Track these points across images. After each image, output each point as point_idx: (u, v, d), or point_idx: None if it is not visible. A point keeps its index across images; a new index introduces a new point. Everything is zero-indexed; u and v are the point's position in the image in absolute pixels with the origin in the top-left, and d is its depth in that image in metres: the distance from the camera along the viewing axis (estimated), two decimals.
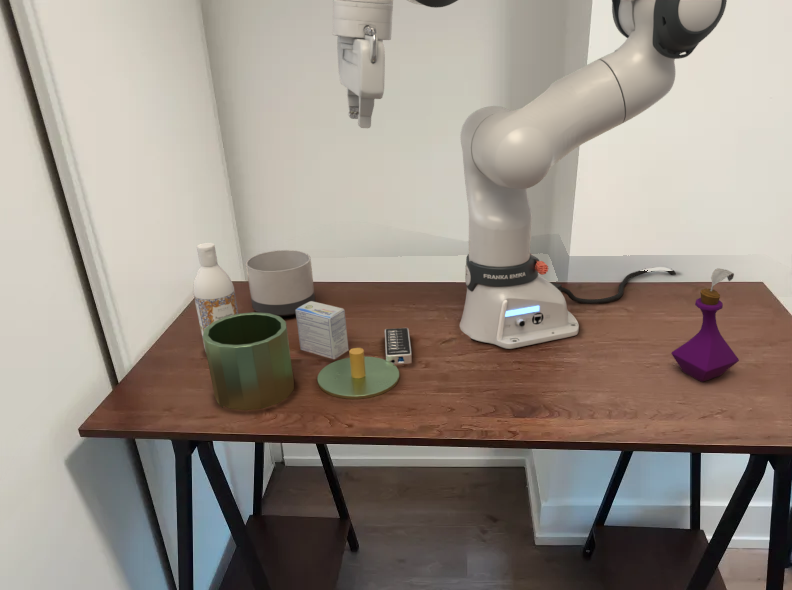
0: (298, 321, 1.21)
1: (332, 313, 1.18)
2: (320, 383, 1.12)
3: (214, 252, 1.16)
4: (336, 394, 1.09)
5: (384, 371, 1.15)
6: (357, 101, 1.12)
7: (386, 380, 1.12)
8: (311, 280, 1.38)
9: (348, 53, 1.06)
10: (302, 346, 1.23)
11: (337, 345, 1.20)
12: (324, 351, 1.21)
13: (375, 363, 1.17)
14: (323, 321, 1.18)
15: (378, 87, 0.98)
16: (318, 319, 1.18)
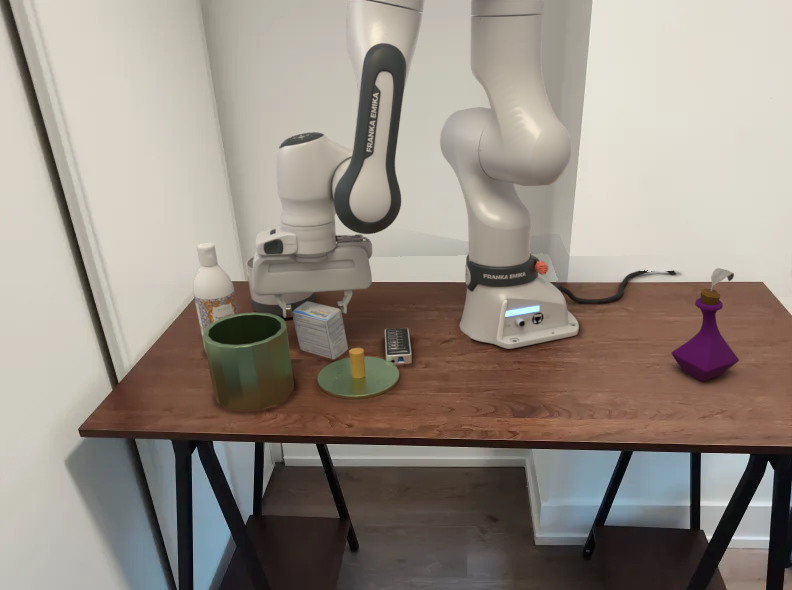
0: (295, 323, 1.21)
1: (328, 315, 1.17)
2: (320, 383, 1.12)
3: (214, 252, 1.16)
4: (336, 394, 1.09)
5: (384, 371, 1.15)
6: (283, 301, 1.19)
7: (386, 380, 1.12)
8: None
9: (294, 264, 1.14)
10: (302, 346, 1.23)
11: (336, 345, 1.20)
12: (323, 352, 1.21)
13: (375, 363, 1.17)
14: (320, 324, 1.17)
15: None
16: (315, 321, 1.17)
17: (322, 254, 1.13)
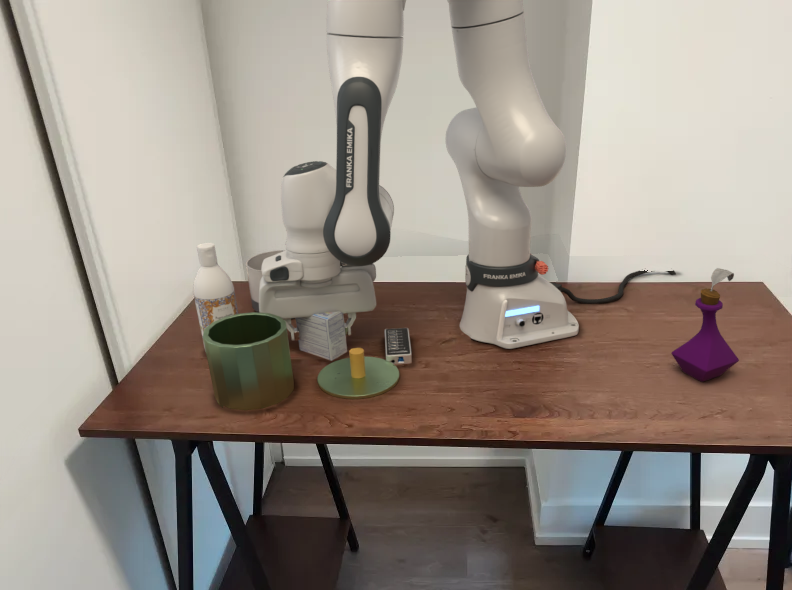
0: (297, 321, 1.21)
1: (330, 315, 1.17)
2: (320, 383, 1.12)
3: (214, 252, 1.16)
4: (336, 394, 1.09)
5: (384, 371, 1.15)
6: (291, 324, 1.21)
7: (386, 380, 1.12)
8: None
9: (300, 290, 1.16)
10: (301, 346, 1.23)
11: (335, 346, 1.20)
12: (322, 352, 1.21)
13: (375, 363, 1.17)
14: (321, 322, 1.17)
15: None
16: (316, 320, 1.18)
17: (327, 279, 1.15)
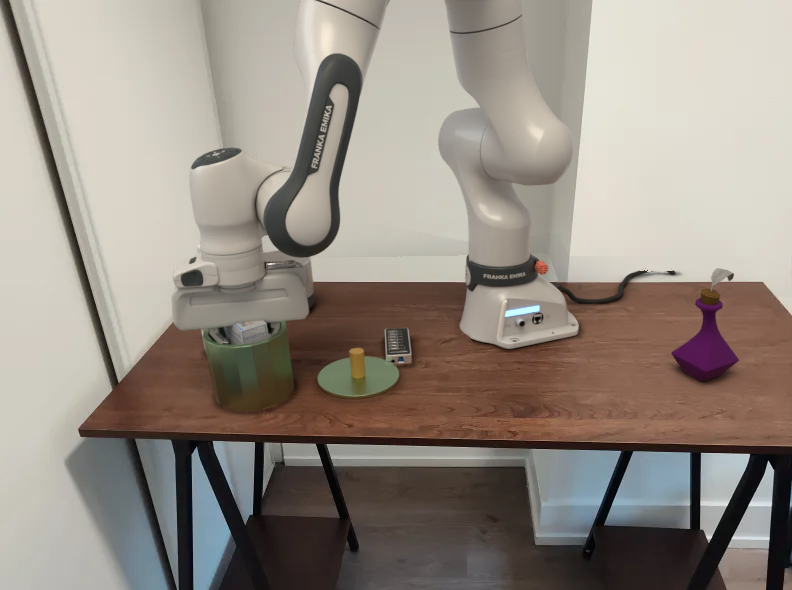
0: (224, 328, 1.08)
1: (247, 326, 1.03)
2: (320, 383, 1.12)
3: None
4: (336, 394, 1.09)
5: (384, 371, 1.15)
6: (220, 334, 1.07)
7: (386, 380, 1.12)
8: (311, 280, 1.38)
9: (219, 296, 1.02)
10: None
11: None
12: None
13: (375, 363, 1.17)
14: (237, 333, 1.03)
15: None
16: (234, 329, 1.04)
17: (249, 284, 1.00)
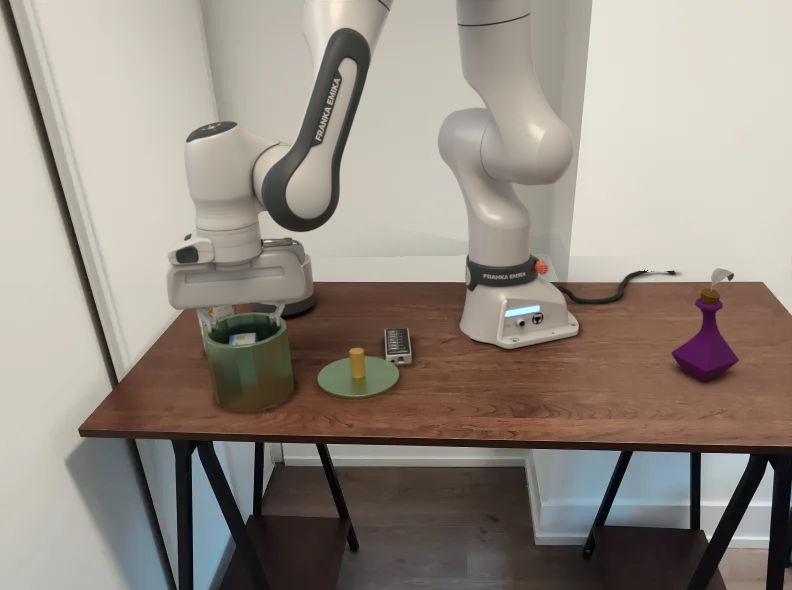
0: None
1: None
2: (320, 383, 1.12)
3: None
4: (336, 394, 1.09)
5: (384, 371, 1.15)
6: (207, 315, 1.05)
7: (386, 380, 1.12)
8: (311, 280, 1.38)
9: (214, 274, 1.00)
10: None
11: None
12: None
13: (375, 363, 1.17)
14: None
15: None
16: None
17: (245, 261, 0.99)
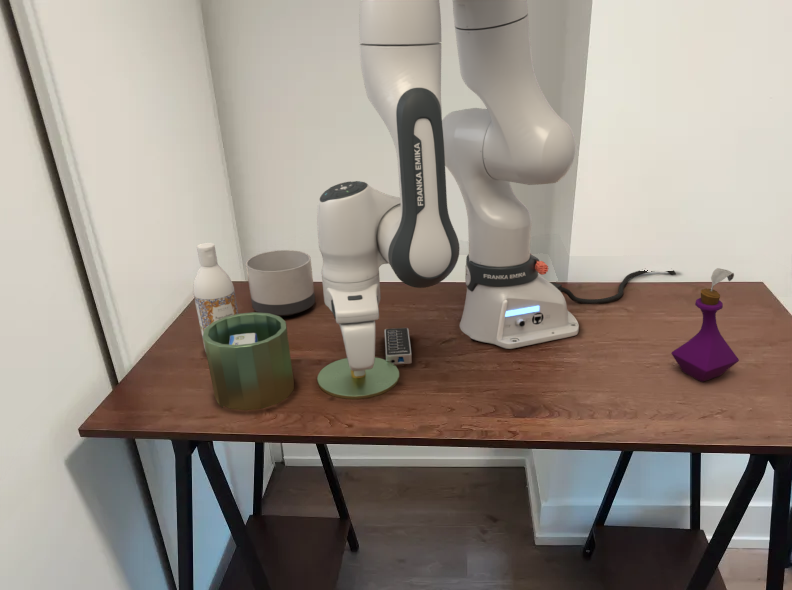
0: None
1: None
2: (320, 383, 1.12)
3: (214, 252, 1.16)
4: (336, 394, 1.09)
5: (384, 371, 1.15)
6: None
7: (386, 380, 1.12)
8: (311, 280, 1.38)
9: None
10: None
11: None
12: None
13: (375, 363, 1.17)
14: None
15: None
16: None
17: None
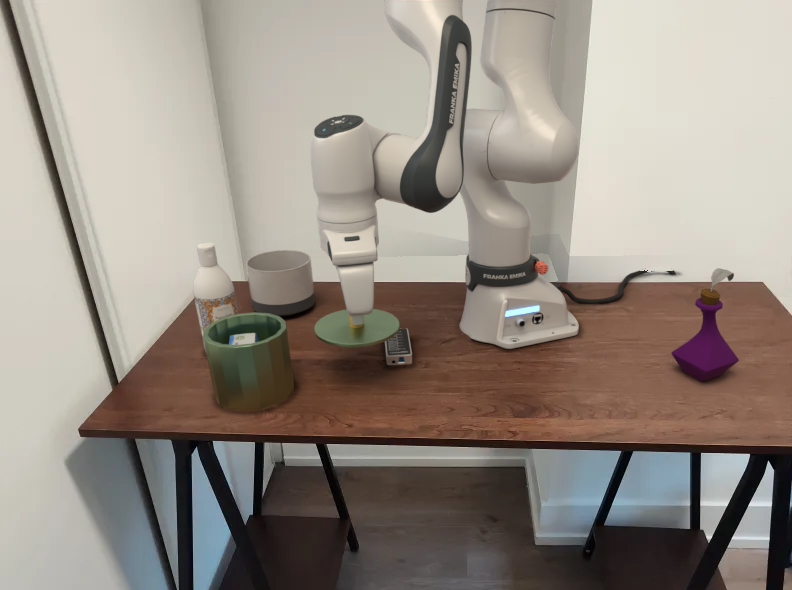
0: None
1: None
2: (317, 332, 1.07)
3: (214, 252, 1.16)
4: (334, 342, 1.04)
5: (383, 321, 1.11)
6: None
7: (386, 329, 1.08)
8: (311, 280, 1.38)
9: None
10: None
11: None
12: None
13: (374, 314, 1.13)
14: None
15: None
16: None
17: None
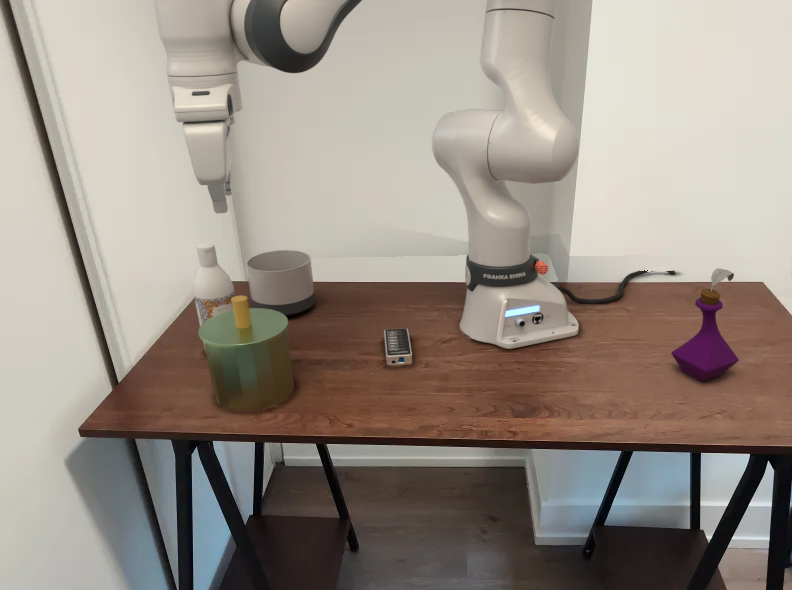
0: None
1: None
2: (200, 333, 1.04)
3: (214, 252, 1.16)
4: (214, 343, 1.01)
5: (272, 321, 1.07)
6: None
7: (272, 330, 1.04)
8: (311, 280, 1.38)
9: None
10: None
11: None
12: None
13: (265, 314, 1.09)
14: None
15: None
16: None
17: None
